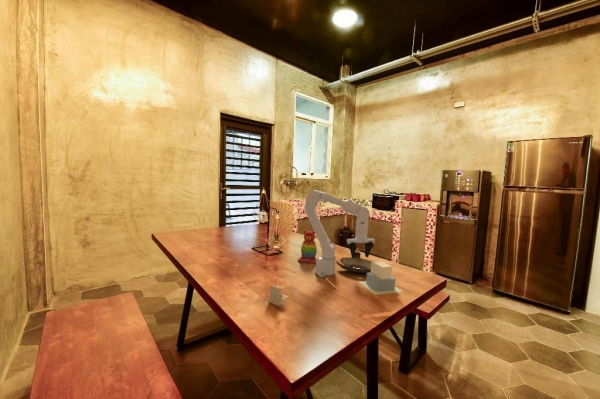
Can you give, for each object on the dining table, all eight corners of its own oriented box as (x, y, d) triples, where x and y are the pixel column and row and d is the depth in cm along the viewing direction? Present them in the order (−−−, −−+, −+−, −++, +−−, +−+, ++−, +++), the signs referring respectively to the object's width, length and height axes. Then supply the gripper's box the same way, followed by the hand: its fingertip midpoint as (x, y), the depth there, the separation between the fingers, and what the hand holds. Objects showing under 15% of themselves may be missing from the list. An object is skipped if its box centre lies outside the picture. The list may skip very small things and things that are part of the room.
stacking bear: (296, 262, 150) (298, 231, 148) (301, 257, 160) (303, 228, 158) (315, 264, 147) (316, 233, 145) (319, 259, 157) (320, 230, 155)
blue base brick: (377, 291, 112) (377, 280, 112) (366, 283, 121) (366, 272, 121) (394, 289, 115) (395, 278, 115) (382, 281, 124) (383, 271, 123)
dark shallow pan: (328, 273, 135) (329, 258, 135) (349, 259, 160) (350, 246, 160) (370, 284, 123) (371, 268, 123) (386, 267, 149) (387, 254, 148)
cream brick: (381, 279, 113) (382, 267, 113) (370, 273, 121) (371, 261, 120) (390, 278, 115) (391, 266, 114) (379, 272, 122) (380, 260, 122)
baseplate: (375, 297, 109) (375, 294, 109) (358, 283, 123) (358, 281, 123) (403, 294, 114) (403, 291, 113) (383, 281, 127) (384, 279, 127)
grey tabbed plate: (274, 299, 104) (275, 281, 103) (288, 305, 100) (288, 287, 99) (268, 302, 101) (269, 284, 101) (282, 308, 97) (283, 289, 97)
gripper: (352, 232, 123) (350, 260, 124) (378, 231, 127) (377, 259, 128) (345, 229, 129) (344, 256, 130) (371, 229, 134) (369, 254, 135)
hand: (359, 257), depth 130 cm, fingers open, 7 cm apart
